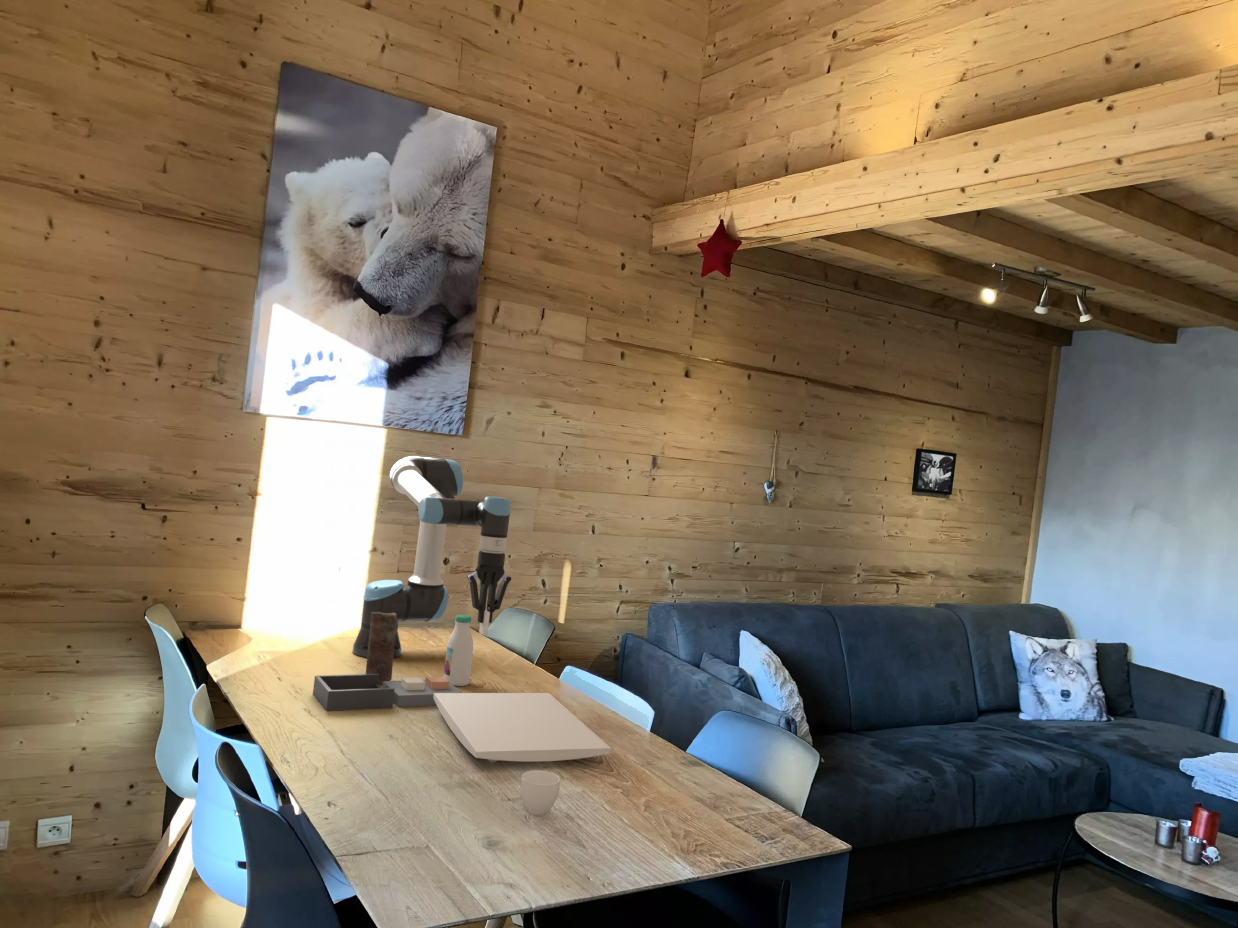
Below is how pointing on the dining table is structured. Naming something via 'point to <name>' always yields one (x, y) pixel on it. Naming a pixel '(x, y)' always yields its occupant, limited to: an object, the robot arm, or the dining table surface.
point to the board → (517, 727)
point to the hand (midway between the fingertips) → (483, 633)
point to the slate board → (415, 694)
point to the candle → (381, 645)
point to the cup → (539, 791)
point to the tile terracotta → (437, 683)
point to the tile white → (412, 683)
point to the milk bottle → (459, 653)
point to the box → (352, 692)
